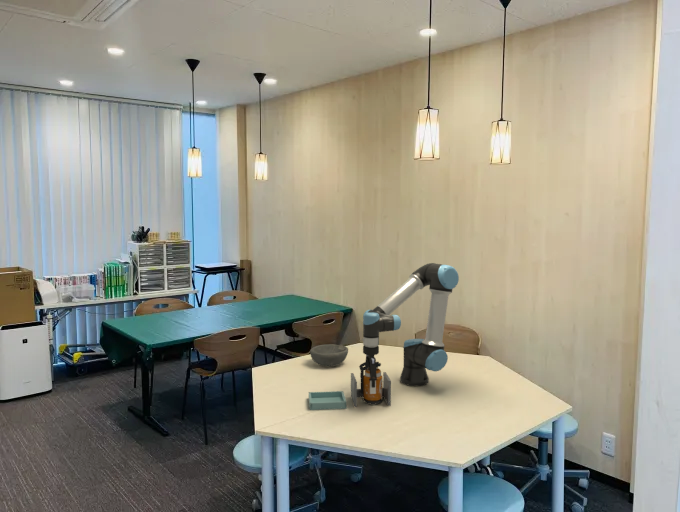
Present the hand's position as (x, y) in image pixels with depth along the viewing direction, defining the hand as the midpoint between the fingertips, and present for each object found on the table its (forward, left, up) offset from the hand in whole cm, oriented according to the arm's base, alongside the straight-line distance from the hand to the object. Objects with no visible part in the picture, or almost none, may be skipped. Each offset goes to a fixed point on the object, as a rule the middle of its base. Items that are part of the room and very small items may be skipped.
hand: (370, 388), depth 255 cm
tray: (+21, 0, -6) cm, 22 cm away
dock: (0, 0, -6) cm, 6 cm away
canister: (0, 0, -7) cm, 7 cm away
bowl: (+15, -63, -7) cm, 65 cm away
